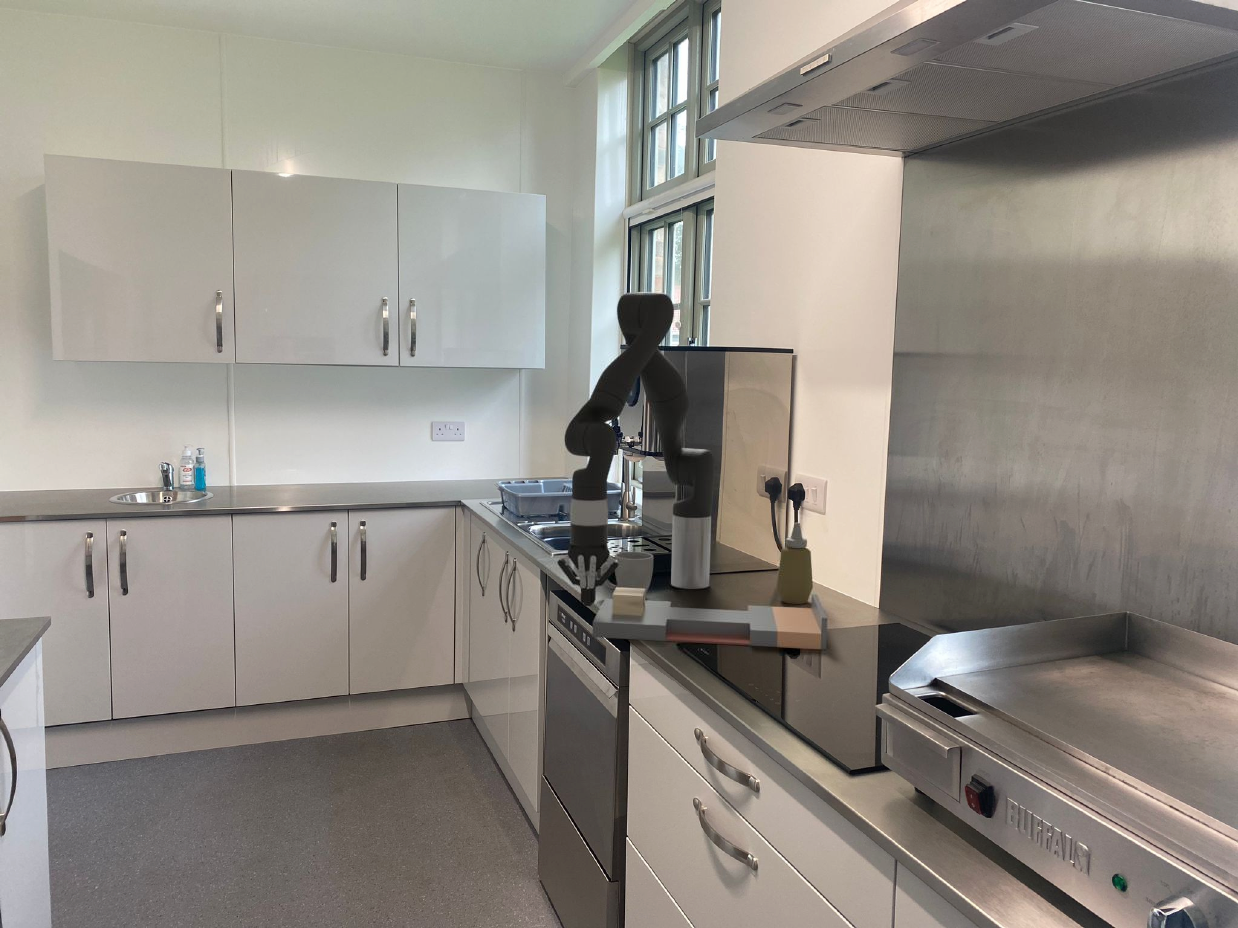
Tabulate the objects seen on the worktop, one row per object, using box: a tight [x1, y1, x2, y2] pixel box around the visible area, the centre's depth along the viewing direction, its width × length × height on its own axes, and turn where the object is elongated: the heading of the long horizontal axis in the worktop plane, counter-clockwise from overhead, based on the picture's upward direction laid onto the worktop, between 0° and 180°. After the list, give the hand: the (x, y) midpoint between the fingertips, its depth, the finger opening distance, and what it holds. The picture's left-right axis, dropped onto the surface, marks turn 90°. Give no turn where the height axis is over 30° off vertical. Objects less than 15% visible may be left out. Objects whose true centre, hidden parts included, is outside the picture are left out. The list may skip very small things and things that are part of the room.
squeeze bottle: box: [776, 522, 814, 605], centre depth 194 cm, size 8×8×18 cm
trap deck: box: [592, 593, 828, 650], centre depth 171 cm, size 18×44×6 cm, turn 83°
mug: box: [600, 551, 654, 595], centre depth 196 cm, size 12×9×10 cm
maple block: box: [611, 587, 646, 616], centre depth 173 cm, size 6×6×4 cm
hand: (587, 605), depth 174 cm, fingers closed
